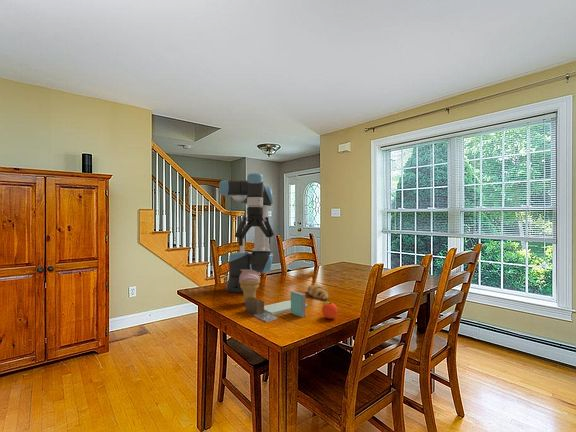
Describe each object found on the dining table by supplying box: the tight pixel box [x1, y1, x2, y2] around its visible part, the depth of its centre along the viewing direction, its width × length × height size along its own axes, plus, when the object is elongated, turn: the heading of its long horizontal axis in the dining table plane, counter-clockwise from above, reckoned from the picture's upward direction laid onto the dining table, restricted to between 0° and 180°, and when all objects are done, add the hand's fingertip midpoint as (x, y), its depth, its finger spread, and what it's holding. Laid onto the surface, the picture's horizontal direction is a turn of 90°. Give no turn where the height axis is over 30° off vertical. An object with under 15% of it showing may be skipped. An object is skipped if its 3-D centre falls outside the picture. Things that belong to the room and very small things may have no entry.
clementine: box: [321, 301, 338, 320], centre depth 136 cm, size 8×7×7 cm
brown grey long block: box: [244, 297, 279, 323], centre depth 140 cm, size 19×6×6 cm, turn 39°
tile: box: [290, 290, 306, 318], centre depth 140 cm, size 8×2×10 cm, turn 39°
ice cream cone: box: [239, 264, 261, 303], centre depth 158 cm, size 11×11×20 cm
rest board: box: [264, 299, 309, 316], centre depth 150 cm, size 11×22×1 cm, turn 129°
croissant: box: [307, 283, 329, 300], centre depth 173 cm, size 21×10×8 cm, turn 24°
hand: (254, 251), depth 143 cm, fingers open, 13 cm apart
